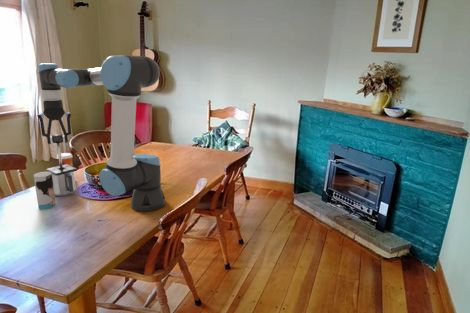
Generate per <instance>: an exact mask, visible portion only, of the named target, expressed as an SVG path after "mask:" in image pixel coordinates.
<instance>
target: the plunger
mask: <svg viewBox="0 0 470 313" xmlns="http://www.w3.org/2000/svg"><path fill="white" fill-rule="evenodd" d="M63 135H64V134H62V133H61V134H60V133H56V134H51V136H52V141H53V144H56V147H57V155H58V157H59V165H60V170H62V169H63V165H62V158H61V153H62V152H61V151H62V150H61V143H63Z"/></svg>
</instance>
